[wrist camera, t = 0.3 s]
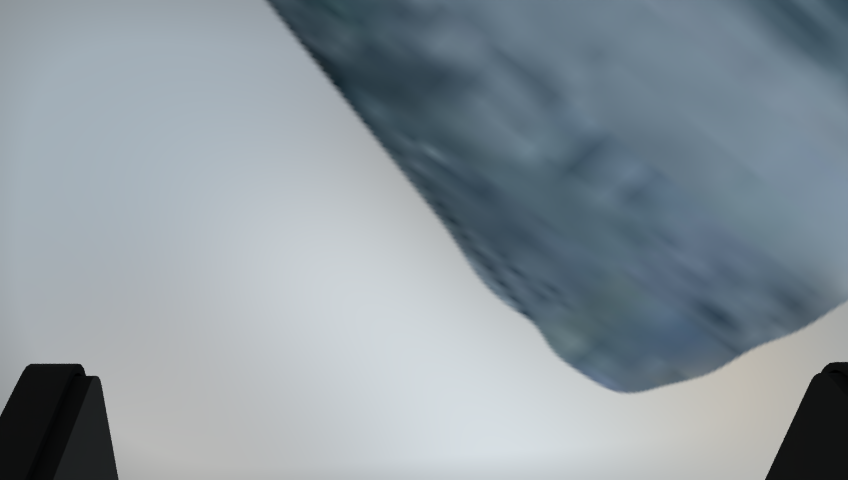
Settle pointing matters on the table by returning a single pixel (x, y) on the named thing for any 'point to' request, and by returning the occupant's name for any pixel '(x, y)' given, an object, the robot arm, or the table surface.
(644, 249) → the table surface
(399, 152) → the table surface
